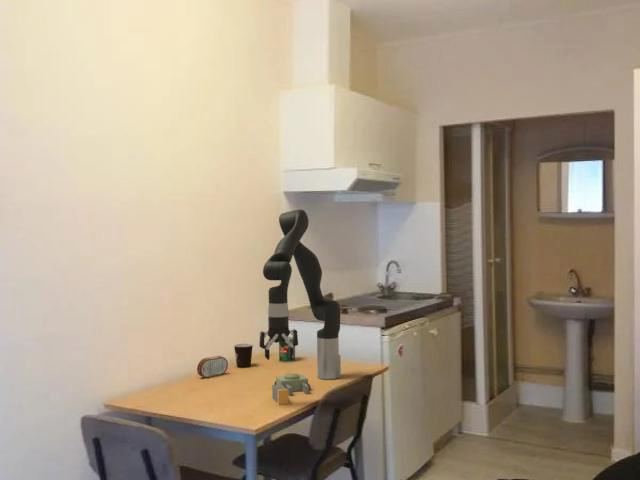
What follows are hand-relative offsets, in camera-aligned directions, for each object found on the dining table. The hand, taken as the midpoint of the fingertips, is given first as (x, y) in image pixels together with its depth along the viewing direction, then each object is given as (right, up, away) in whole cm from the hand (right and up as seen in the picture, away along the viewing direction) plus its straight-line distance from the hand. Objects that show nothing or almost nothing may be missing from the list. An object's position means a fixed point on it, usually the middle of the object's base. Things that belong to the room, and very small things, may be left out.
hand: (279, 358), depth 251 cm
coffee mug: (-20, -15, +65) cm, 70 cm away
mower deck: (+5, -15, +16) cm, 23 cm away
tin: (-32, -16, +45) cm, 57 cm away
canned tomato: (-1, -15, +76) cm, 77 cm away
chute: (0, -16, 0) cm, 16 cm away
